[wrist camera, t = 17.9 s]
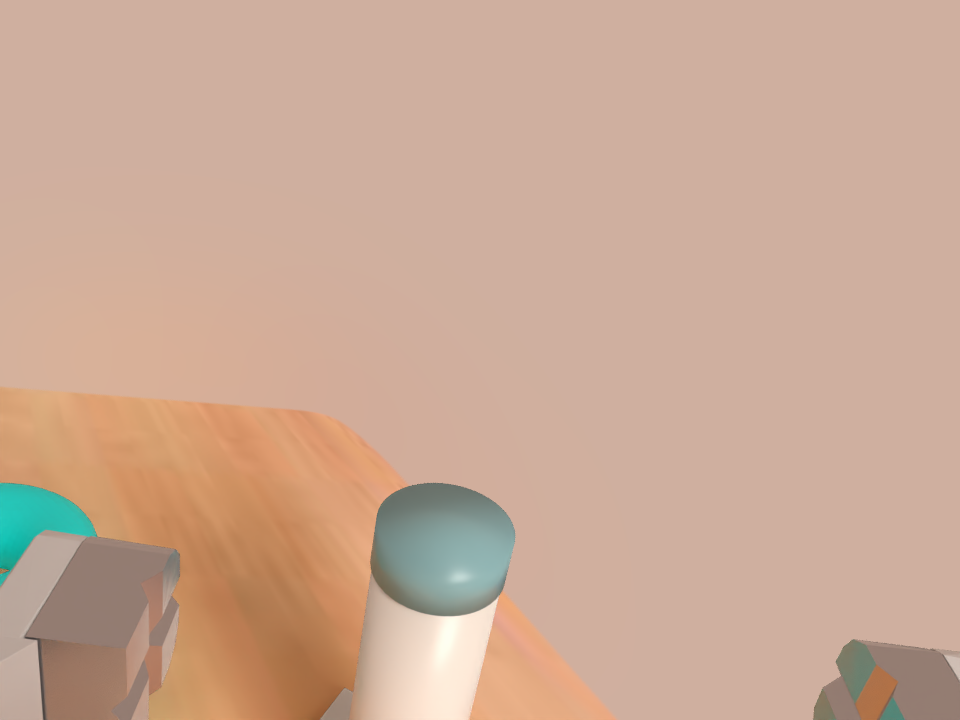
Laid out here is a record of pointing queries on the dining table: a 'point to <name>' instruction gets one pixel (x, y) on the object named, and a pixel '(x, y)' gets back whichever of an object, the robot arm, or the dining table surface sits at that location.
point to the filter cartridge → (430, 603)
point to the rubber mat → (339, 707)
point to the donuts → (34, 520)
